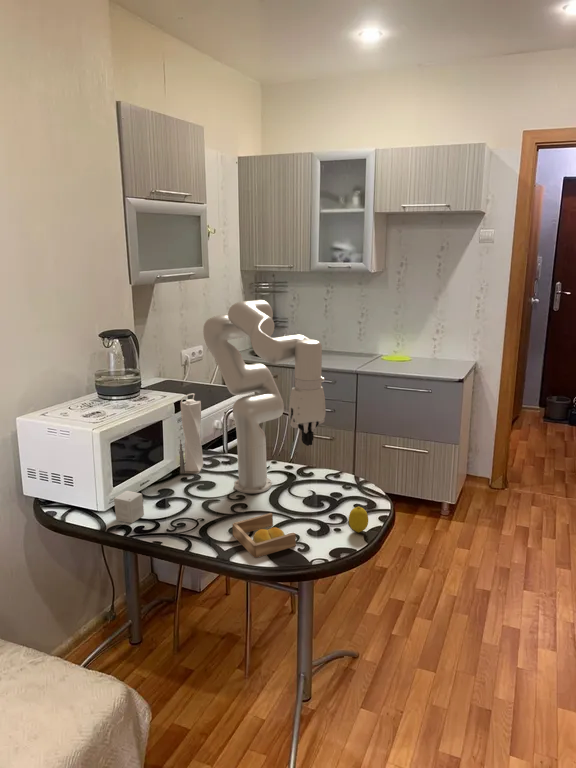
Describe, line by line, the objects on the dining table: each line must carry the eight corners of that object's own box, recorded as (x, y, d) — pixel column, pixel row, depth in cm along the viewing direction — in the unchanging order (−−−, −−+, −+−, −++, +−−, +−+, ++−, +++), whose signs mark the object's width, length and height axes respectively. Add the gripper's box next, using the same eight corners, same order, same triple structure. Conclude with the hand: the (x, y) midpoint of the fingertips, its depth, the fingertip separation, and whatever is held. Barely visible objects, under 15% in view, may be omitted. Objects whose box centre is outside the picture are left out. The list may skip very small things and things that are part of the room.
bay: (232, 534, 168) (231, 523, 167) (271, 523, 174) (271, 512, 173) (254, 558, 156) (254, 546, 155) (295, 545, 162) (295, 533, 161)
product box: (144, 515, 181) (142, 493, 179) (131, 524, 175) (129, 501, 174) (128, 511, 183) (126, 490, 181) (115, 520, 178) (113, 498, 176)
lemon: (366, 527, 171) (366, 502, 169) (369, 537, 166) (370, 511, 164) (347, 528, 171) (347, 502, 169) (350, 537, 165) (350, 511, 163)
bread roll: (251, 537, 167) (251, 524, 166) (282, 534, 168) (282, 521, 167) (254, 552, 159) (254, 539, 158) (287, 549, 160) (287, 536, 159)
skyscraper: (185, 464, 220) (181, 392, 213) (207, 465, 219) (203, 392, 212) (179, 473, 212) (174, 399, 205) (201, 474, 211) (197, 399, 204)
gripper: (324, 377, 173) (323, 435, 178) (278, 383, 167) (278, 443, 172) (337, 383, 167) (336, 443, 172) (290, 390, 160) (290, 452, 166)
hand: (307, 443), depth 172 cm, fingers closed
